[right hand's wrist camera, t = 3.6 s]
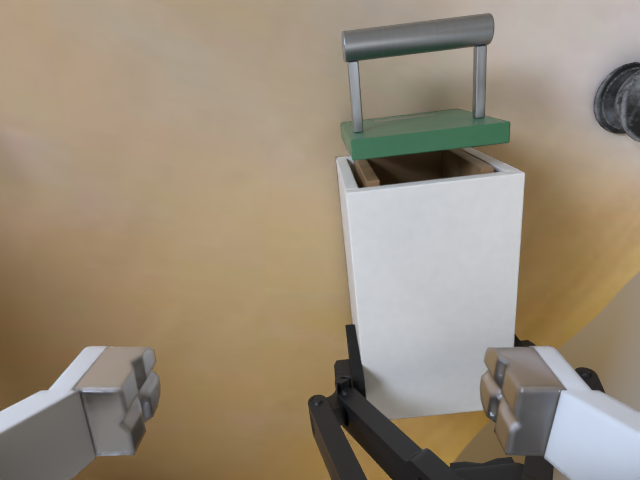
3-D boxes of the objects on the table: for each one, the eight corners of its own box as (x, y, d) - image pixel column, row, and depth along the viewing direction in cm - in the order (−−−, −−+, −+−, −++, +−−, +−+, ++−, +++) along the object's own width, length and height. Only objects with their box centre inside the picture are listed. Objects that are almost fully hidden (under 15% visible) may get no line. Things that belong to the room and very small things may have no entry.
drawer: (332, 39, 31) (340, 26, 22) (458, 24, 30) (516, 5, 22) (357, 303, 39) (370, 369, 30) (457, 292, 38) (499, 355, 30)
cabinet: (335, 157, 35) (345, 193, 24) (462, 142, 34) (526, 172, 24) (353, 334, 41) (367, 422, 31) (460, 323, 41) (510, 408, 30)
